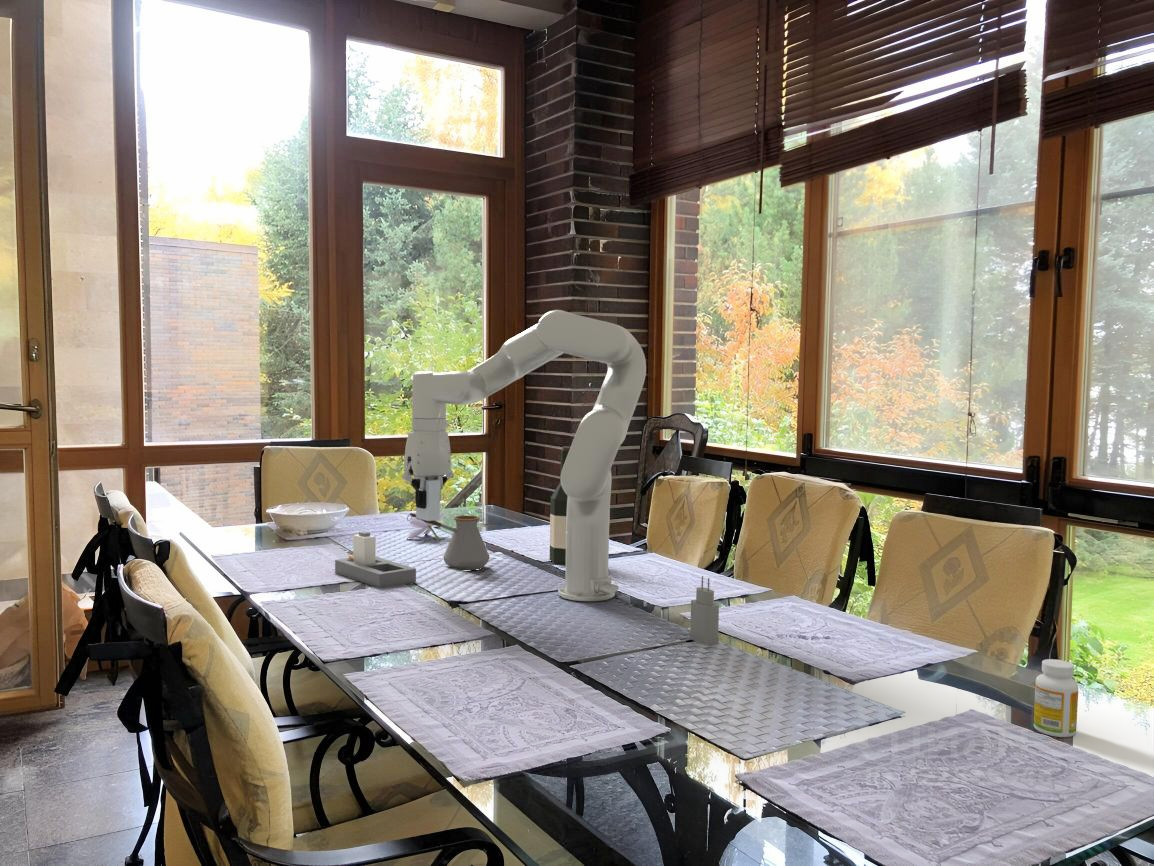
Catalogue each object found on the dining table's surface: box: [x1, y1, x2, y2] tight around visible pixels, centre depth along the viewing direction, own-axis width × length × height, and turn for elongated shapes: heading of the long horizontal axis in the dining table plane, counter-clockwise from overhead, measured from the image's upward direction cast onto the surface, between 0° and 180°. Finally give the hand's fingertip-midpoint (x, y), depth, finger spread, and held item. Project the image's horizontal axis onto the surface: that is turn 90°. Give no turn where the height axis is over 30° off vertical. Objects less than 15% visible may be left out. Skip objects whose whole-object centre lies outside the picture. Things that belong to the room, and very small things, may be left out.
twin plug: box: [352, 530, 377, 565], centre depth 217 cm, size 5×3×10 cm, turn 43°
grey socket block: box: [334, 554, 417, 589], centre depth 214 cm, size 20×10×5 cm, turn 43°
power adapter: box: [689, 575, 720, 646], centre depth 171 cm, size 3×5×12 cm, turn 30°
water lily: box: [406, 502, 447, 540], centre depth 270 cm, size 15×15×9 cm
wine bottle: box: [549, 446, 571, 566], centre depth 239 cm, size 8×8×30 cm
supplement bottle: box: [1033, 658, 1079, 738], centre depth 130 cm, size 5×5×10 cm
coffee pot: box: [406, 512, 490, 571], centre depth 227 cm, size 21×12×15 cm, turn 123°
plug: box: [415, 476, 441, 521], centre depth 209 cm, size 5×3×10 cm, turn 43°
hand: (427, 506), depth 209 cm, fingers closed on plug, 3 cm apart
